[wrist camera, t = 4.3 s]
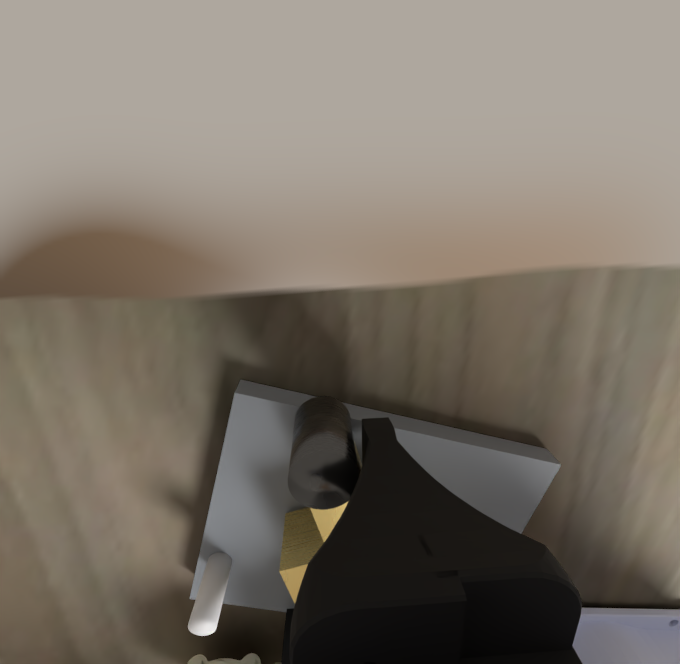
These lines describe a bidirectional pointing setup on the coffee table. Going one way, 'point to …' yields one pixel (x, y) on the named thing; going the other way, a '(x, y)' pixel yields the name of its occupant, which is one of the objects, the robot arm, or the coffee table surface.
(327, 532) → the square nut with handle
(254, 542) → the plate
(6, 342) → the coffee table surface
